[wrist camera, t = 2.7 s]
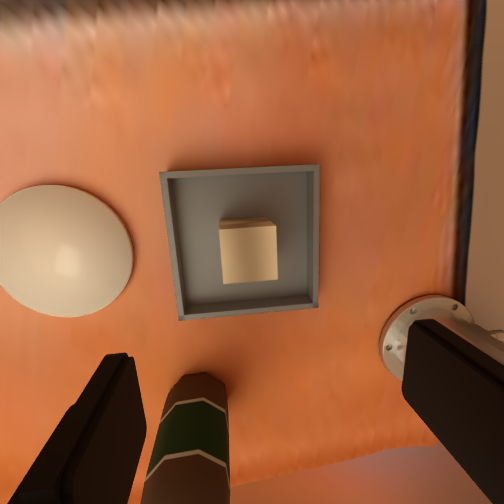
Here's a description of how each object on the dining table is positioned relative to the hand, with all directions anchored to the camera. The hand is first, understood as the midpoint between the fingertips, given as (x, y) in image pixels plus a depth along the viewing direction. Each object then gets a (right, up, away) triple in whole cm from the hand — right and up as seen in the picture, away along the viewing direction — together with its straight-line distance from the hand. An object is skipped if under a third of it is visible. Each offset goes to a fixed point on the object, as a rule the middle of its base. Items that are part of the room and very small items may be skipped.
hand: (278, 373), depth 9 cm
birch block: (-2, +5, +21) cm, 22 cm away
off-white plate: (-21, +4, +20) cm, 29 cm away
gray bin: (-2, +5, +22) cm, 23 cm away
